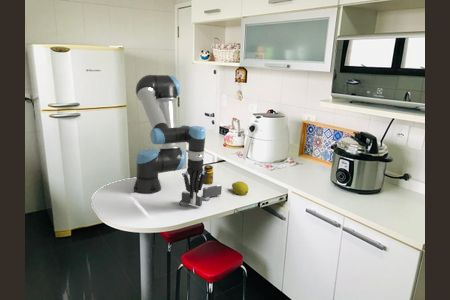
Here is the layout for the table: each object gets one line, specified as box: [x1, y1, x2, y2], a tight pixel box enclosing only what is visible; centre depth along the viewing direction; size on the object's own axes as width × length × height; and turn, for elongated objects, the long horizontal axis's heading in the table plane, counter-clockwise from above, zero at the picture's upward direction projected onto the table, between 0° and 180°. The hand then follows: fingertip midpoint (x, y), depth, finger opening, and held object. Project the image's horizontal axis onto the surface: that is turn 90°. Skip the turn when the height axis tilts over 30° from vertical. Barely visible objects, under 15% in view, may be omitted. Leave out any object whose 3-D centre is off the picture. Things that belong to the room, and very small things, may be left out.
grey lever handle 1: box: [179, 190, 203, 207], centre depth 164 cm, size 12×5×6 cm, turn 65°
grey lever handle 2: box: [201, 184, 223, 202], centre depth 175 cm, size 12×5×6 cm, turn 124°
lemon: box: [231, 180, 249, 196], centre depth 184 cm, size 11×8×8 cm
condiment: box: [203, 164, 214, 186], centre depth 195 cm, size 7×8×12 cm
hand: (192, 203), depth 161 cm, fingers closed
